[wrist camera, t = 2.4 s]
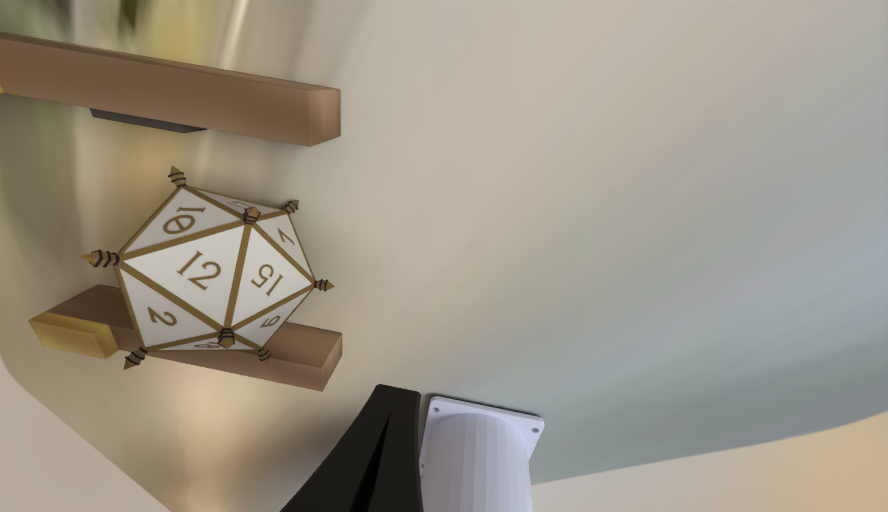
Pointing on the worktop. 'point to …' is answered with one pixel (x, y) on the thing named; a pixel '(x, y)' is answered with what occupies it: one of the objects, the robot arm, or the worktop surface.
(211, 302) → the game die
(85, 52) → the twin wooden rails
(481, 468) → the robot arm
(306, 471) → the worktop surface
